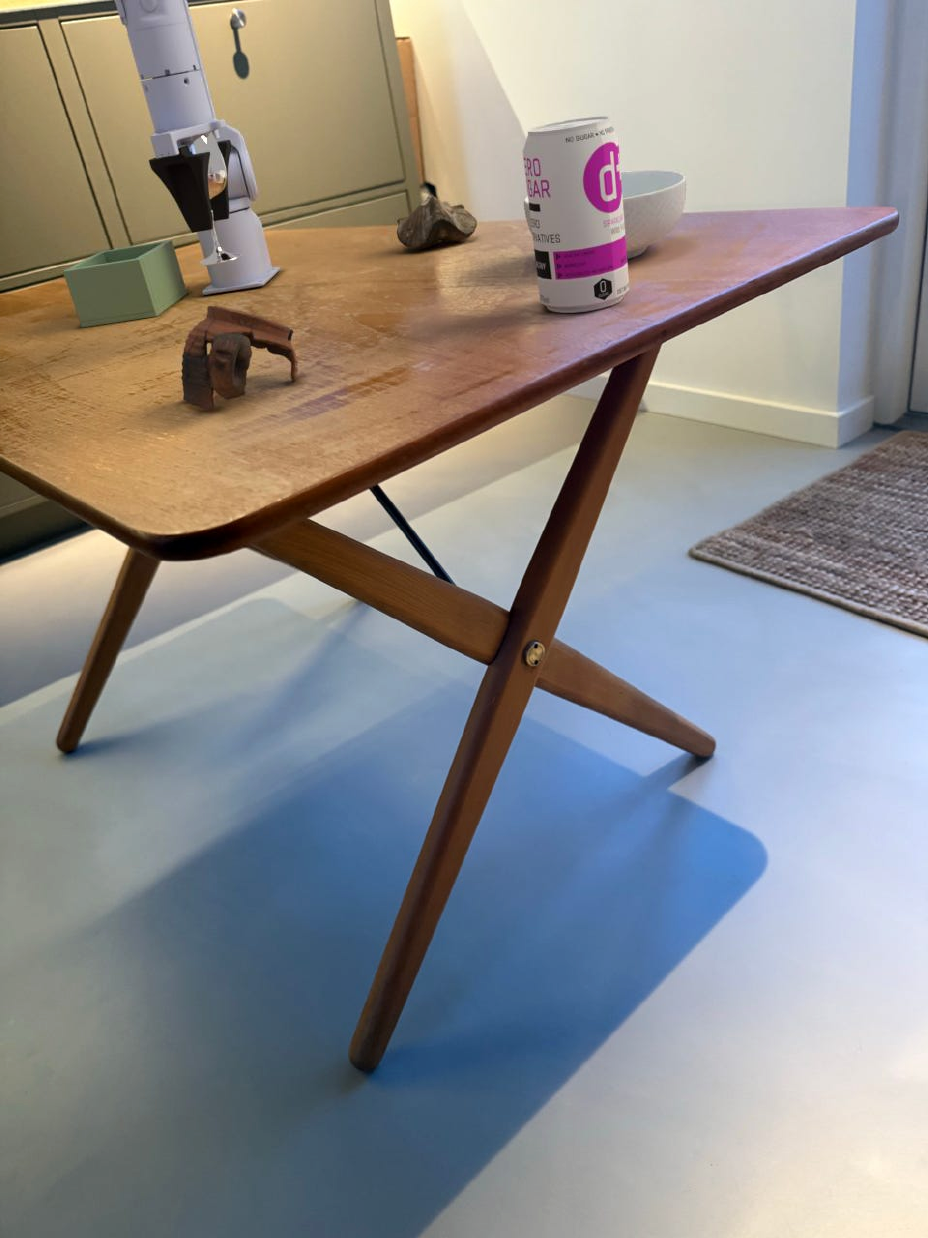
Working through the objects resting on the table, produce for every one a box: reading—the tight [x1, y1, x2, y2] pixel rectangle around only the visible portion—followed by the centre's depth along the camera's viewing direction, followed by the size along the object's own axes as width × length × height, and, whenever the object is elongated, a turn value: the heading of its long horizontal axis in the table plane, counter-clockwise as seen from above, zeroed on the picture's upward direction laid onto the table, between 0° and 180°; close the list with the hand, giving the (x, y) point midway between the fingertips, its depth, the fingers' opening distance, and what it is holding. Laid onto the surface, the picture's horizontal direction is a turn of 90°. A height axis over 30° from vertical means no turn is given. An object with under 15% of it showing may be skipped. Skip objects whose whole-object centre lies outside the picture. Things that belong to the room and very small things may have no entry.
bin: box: [62, 239, 188, 328], centre depth 123 cm, size 12×10×7 cm
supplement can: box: [522, 115, 630, 314], centre depth 89 cm, size 8×8×15 cm
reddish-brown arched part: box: [180, 305, 299, 411], centre depth 83 cm, size 12×9×8 cm
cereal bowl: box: [523, 169, 687, 260], centre depth 107 cm, size 17×17×7 cm
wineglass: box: [181, 132, 242, 266], centre depth 101 cm, size 6×6×12 cm
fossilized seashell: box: [396, 194, 478, 250], centre depth 129 cm, size 8×7×10 cm
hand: (211, 225), depth 103 cm, fingers closed on wineglass, 5 cm apart
